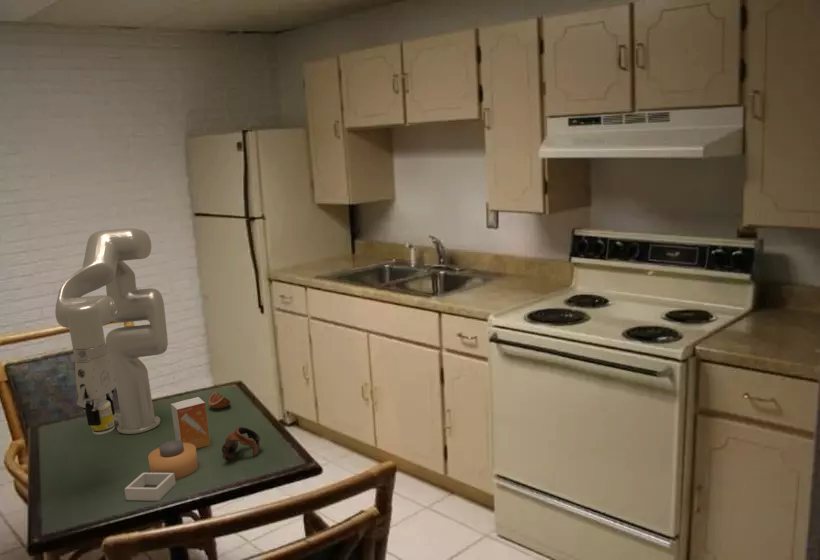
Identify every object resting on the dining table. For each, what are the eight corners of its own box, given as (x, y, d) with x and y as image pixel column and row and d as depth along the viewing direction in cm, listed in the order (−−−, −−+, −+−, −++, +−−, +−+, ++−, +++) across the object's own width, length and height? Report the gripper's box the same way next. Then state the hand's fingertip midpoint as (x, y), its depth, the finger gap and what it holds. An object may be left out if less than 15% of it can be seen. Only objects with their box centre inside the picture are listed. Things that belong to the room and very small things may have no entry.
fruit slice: (235, 408, 236) (233, 394, 235) (214, 414, 232) (212, 399, 231) (225, 402, 243) (223, 387, 242) (205, 407, 239) (203, 393, 238)
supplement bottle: (92, 429, 189) (85, 393, 187) (114, 424, 191) (108, 389, 189) (92, 436, 184) (85, 399, 182) (115, 431, 186) (109, 395, 184)
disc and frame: (119, 499, 179) (115, 473, 178) (165, 459, 201) (161, 435, 199) (165, 500, 177) (161, 473, 176) (205, 460, 199) (202, 435, 197)
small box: (182, 453, 204) (176, 409, 201) (176, 446, 209) (170, 403, 207) (211, 445, 208) (205, 401, 206) (204, 438, 213) (198, 396, 211)
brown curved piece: (231, 448, 207) (243, 422, 206) (257, 465, 204) (270, 439, 203) (206, 455, 195) (219, 428, 194) (234, 474, 192) (247, 447, 192)
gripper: (83, 363, 174) (95, 434, 178) (122, 341, 191) (133, 407, 194) (54, 363, 175) (67, 434, 179) (96, 342, 192) (107, 407, 196)
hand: (101, 419), depth 187 cm, fingers closed on supplement bottle, 5 cm apart
